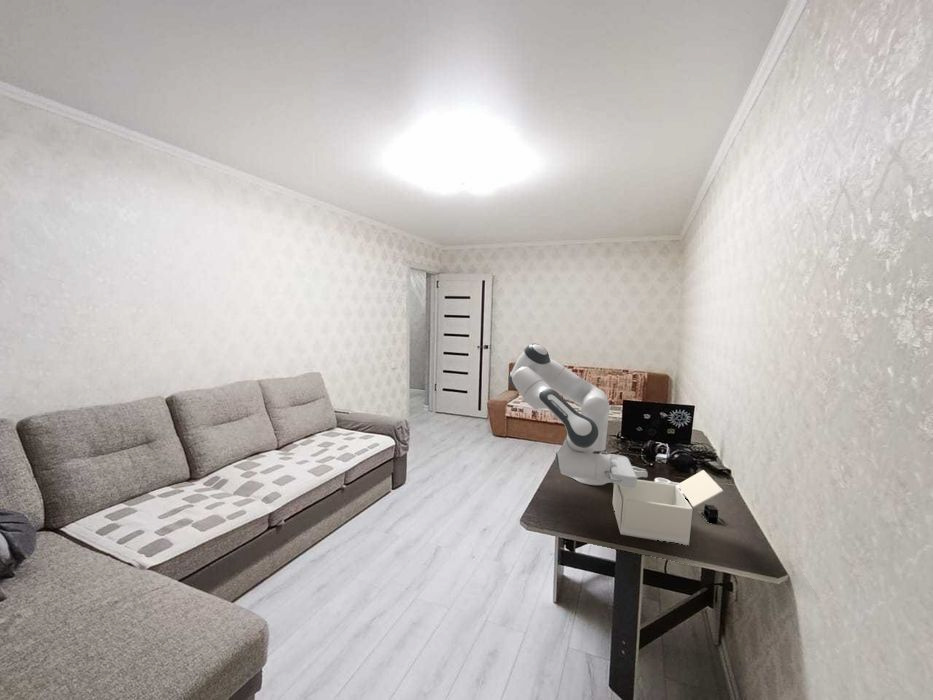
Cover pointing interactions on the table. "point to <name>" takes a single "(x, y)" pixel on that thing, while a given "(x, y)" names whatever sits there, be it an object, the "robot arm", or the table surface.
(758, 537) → the table surface
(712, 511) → the black angular piece
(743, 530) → the table surface
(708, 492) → the carton flap
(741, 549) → the table surface
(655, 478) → the spiked knuckle duster
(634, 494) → the carton
